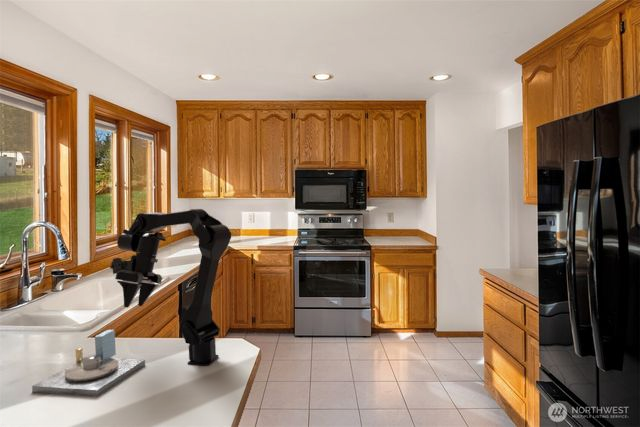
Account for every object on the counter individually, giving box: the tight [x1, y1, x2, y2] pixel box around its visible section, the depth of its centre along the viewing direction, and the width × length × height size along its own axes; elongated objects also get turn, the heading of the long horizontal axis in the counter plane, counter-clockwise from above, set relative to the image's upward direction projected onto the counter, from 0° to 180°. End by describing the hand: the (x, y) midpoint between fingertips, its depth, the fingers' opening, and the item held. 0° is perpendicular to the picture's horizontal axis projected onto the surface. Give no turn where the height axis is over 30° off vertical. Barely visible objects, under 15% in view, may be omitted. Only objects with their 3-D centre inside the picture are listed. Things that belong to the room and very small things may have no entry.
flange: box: [65, 329, 118, 381], centre depth 105 cm, size 14×12×8 cm
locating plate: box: [31, 347, 146, 398], centre depth 103 cm, size 18×18×6 cm
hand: (133, 306), depth 116 cm, fingers open, 9 cm apart
